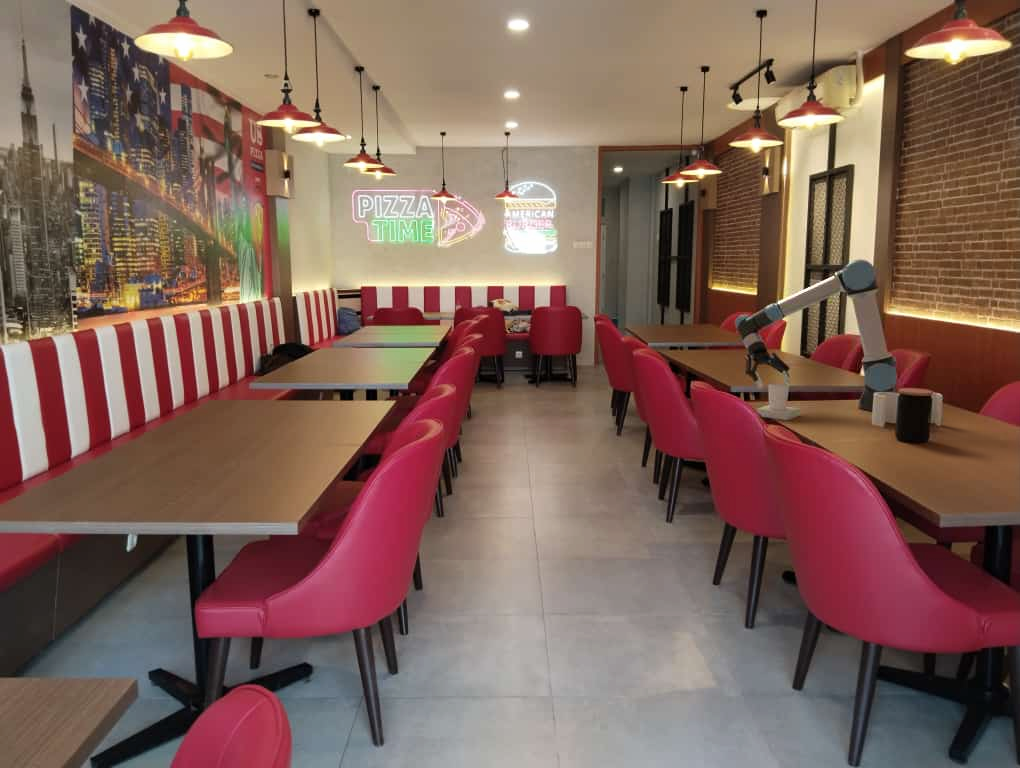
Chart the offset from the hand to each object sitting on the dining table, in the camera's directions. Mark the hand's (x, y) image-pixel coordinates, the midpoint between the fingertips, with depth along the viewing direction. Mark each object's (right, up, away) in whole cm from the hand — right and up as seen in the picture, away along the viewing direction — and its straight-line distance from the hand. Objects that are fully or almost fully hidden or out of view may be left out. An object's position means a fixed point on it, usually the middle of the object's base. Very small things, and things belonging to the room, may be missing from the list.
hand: (775, 386), depth 308 cm
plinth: (+1, -12, 0) cm, 12 cm away
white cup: (+1, -10, -1) cm, 10 cm away
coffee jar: (+33, -19, -44) cm, 58 cm away
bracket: (+44, -15, -18) cm, 50 cm away
